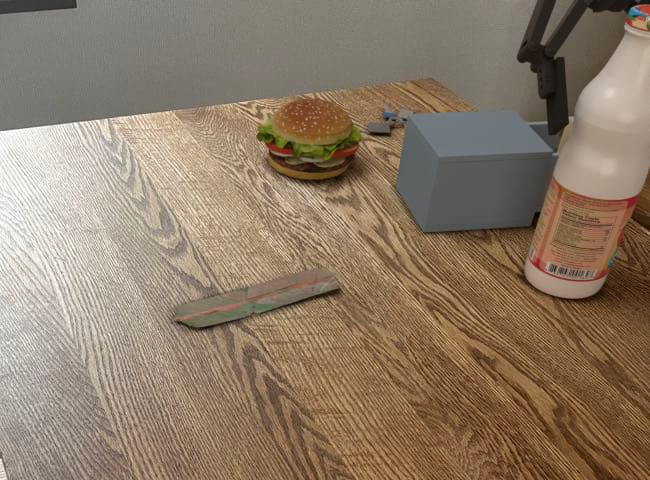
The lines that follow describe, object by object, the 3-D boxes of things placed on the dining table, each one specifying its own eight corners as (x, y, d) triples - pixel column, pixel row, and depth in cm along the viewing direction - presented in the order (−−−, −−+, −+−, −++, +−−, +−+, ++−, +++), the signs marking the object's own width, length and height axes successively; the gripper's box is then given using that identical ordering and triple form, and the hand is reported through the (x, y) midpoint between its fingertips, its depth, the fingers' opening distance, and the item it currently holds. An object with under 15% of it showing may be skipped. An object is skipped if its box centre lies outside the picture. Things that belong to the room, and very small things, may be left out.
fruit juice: (507, 264, 100) (585, -1, 79) (574, 254, 102) (667, -7, 81) (549, 306, 94) (645, 32, 73) (618, 294, 96) (731, 24, 75)
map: (165, 314, 92) (165, 307, 91) (323, 265, 98) (323, 258, 97) (184, 338, 89) (184, 331, 88) (345, 286, 95) (346, 279, 94)
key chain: (376, 138, 123) (377, 132, 122) (343, 118, 127) (343, 113, 126) (445, 119, 128) (447, 114, 127) (411, 101, 132) (411, 96, 132)
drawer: (595, 172, 116) (616, 114, 110) (634, 211, 108) (658, 151, 102) (466, 179, 113) (480, 119, 107) (496, 219, 106) (513, 158, 100)
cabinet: (495, 181, 115) (514, 109, 108) (530, 226, 107) (553, 151, 99) (395, 186, 113) (407, 113, 106) (423, 232, 105) (439, 156, 97)
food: (312, 133, 123) (317, 76, 118) (374, 169, 116) (383, 110, 110) (238, 155, 118) (239, 95, 112) (298, 194, 111) (303, 132, 105)
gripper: (693, -65, 88) (704, 137, 90) (473, -63, 85) (490, 147, 87) (744, -117, 81) (756, 105, 82) (506, -116, 78) (523, 115, 79)
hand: (620, 127), depth 84 cm, fingers open, 13 cm apart
